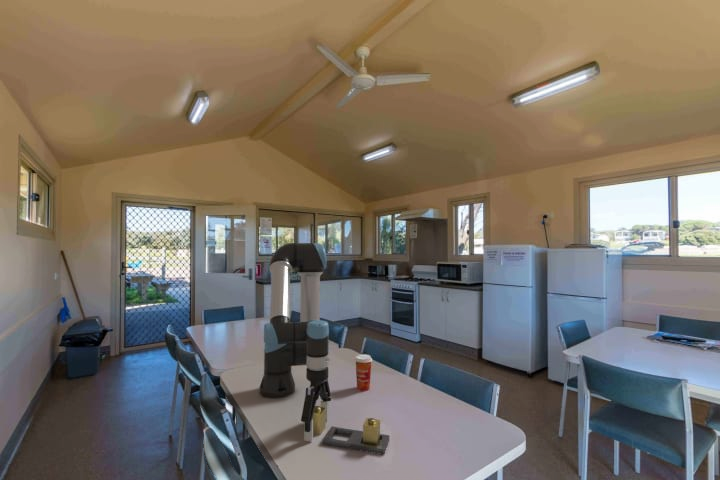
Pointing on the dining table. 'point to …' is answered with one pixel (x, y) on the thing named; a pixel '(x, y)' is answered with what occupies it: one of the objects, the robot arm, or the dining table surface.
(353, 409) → the dining table surface
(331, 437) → the holder with square slots
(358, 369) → the paper cup
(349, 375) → the dining table surface
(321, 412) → the yellow square bottle
